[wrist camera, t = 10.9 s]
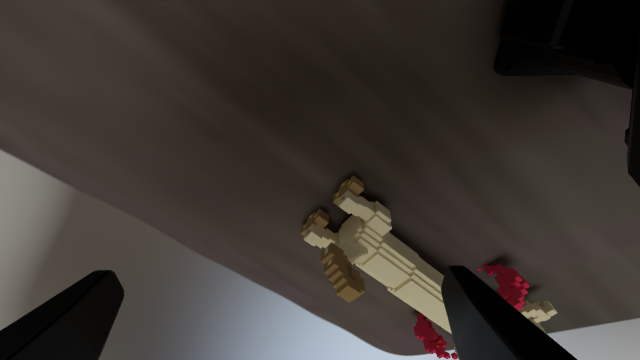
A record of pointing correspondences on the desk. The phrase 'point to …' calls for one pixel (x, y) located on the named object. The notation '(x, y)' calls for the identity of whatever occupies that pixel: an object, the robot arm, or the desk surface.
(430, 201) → the desk surface
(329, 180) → the desk surface
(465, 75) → the desk surface
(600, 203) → the desk surface
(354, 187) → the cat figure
